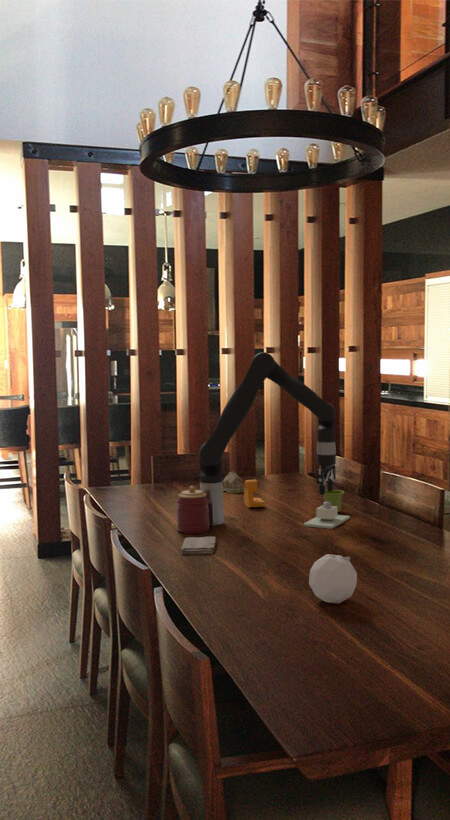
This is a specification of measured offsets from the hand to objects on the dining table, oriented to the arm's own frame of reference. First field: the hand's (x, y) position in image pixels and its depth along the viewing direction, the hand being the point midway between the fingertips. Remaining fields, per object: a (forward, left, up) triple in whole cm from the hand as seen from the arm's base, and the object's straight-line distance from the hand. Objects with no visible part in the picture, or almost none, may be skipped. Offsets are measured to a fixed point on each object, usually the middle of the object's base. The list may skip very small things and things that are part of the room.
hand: (326, 492), depth 308 cm
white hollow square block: (0, 0, -10) cm, 10 cm away
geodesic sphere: (-89, -38, -12) cm, 97 cm away
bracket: (+17, +42, -12) cm, 47 cm away
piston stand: (0, 0, -12) cm, 12 cm away
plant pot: (+19, +5, -12) cm, 23 cm away
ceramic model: (+46, +69, -12) cm, 84 cm away
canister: (-33, +43, -12) cm, 55 cm away
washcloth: (-55, +27, -13) cm, 62 cm away
